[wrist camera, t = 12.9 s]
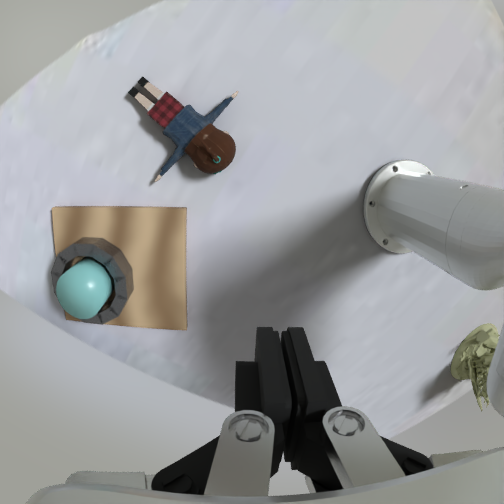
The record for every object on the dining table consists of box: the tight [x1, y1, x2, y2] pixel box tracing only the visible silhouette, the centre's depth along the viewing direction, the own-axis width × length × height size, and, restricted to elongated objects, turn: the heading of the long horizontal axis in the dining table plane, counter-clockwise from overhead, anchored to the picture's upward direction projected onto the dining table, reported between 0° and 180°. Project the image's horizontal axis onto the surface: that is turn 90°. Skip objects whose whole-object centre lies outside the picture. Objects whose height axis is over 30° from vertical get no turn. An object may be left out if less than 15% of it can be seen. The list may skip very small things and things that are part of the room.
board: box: [52, 206, 187, 330], centre depth 38 cm, size 18×16×1 cm
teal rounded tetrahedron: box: [56, 256, 115, 319], centre depth 35 cm, size 6×6×6 cm
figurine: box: [451, 323, 500, 411], centre depth 42 cm, size 14×13×15 cm
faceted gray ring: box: [51, 237, 134, 324], centre depth 36 cm, size 10×10×3 cm
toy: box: [128, 76, 238, 182], centre depth 33 cm, size 14×5×15 cm
